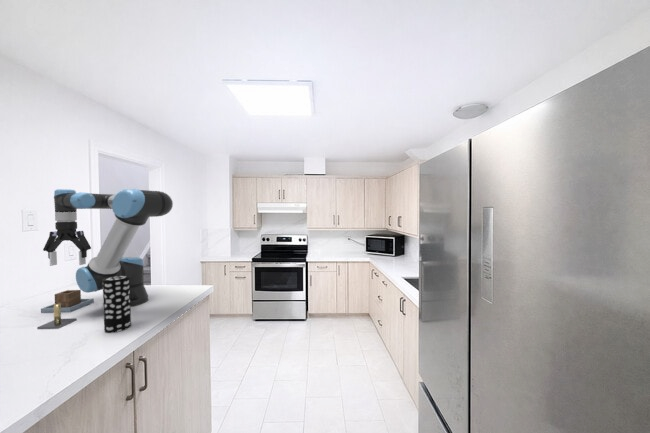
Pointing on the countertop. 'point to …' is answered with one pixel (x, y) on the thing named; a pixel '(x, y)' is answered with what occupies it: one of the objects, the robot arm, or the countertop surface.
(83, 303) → the tray
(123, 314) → the white-spotted black cylinder
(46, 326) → the brass post base plate
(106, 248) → the robot arm
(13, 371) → the countertop surface
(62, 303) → the walnut block
